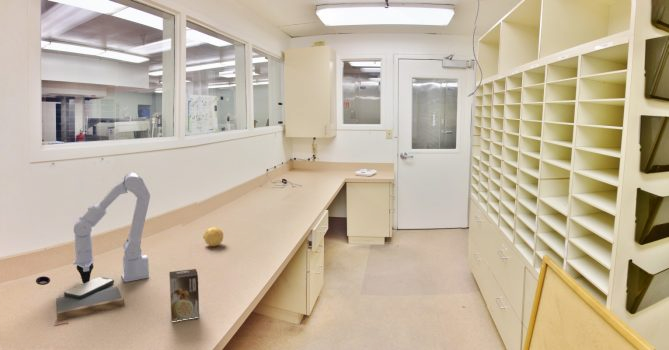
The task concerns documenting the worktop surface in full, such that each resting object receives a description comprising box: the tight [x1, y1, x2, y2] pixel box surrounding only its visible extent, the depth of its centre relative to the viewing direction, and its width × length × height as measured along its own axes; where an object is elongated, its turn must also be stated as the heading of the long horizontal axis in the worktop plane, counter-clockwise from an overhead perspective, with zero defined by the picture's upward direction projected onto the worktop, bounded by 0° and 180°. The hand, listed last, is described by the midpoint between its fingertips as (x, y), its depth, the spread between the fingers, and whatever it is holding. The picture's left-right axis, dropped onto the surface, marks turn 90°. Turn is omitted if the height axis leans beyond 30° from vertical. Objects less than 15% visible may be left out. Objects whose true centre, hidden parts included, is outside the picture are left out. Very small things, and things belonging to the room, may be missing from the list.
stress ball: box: [203, 226, 224, 248], centre depth 210 cm, size 10×10×10 cm
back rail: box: [57, 297, 126, 322], centre depth 140 cm, size 20×2×2 cm, turn 126°
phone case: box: [63, 276, 115, 299], centre depth 156 cm, size 9×2×16 cm
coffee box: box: [168, 268, 200, 322], centre depth 138 cm, size 9×6×16 cm
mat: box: [56, 286, 123, 312], centre depth 148 cm, size 20×18×1 cm
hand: (85, 282), depth 161 cm, fingers closed
